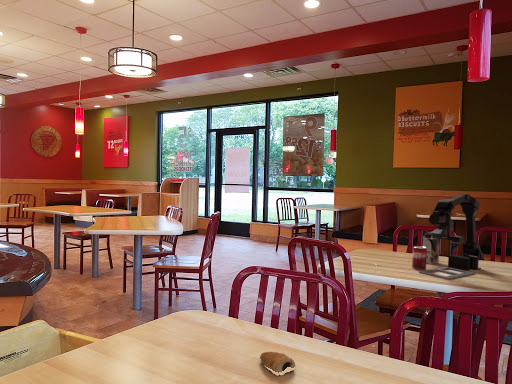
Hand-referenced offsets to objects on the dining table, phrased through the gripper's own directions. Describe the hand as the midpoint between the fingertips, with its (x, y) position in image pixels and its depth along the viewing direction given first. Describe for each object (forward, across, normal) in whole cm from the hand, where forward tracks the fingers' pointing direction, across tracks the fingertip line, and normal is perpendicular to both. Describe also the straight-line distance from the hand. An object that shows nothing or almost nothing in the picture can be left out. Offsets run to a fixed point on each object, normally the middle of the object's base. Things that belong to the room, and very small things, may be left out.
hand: (443, 253), depth 201 cm
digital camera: (+11, -3, +24) cm, 27 cm away
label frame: (+11, 0, +5) cm, 12 cm away
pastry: (+12, +36, -137) cm, 142 cm away
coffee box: (+11, -21, +24) cm, 34 cm away
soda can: (+11, -14, +1) cm, 18 cm away
